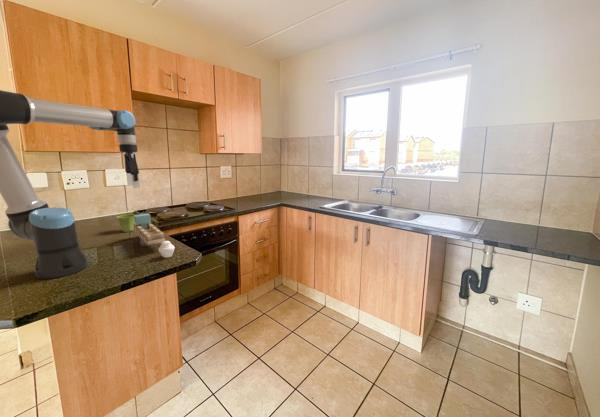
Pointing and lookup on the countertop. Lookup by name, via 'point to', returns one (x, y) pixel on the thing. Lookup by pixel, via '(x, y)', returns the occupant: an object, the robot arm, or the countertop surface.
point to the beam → (149, 235)
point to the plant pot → (126, 222)
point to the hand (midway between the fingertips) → (134, 186)
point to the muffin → (166, 249)
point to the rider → (142, 220)
